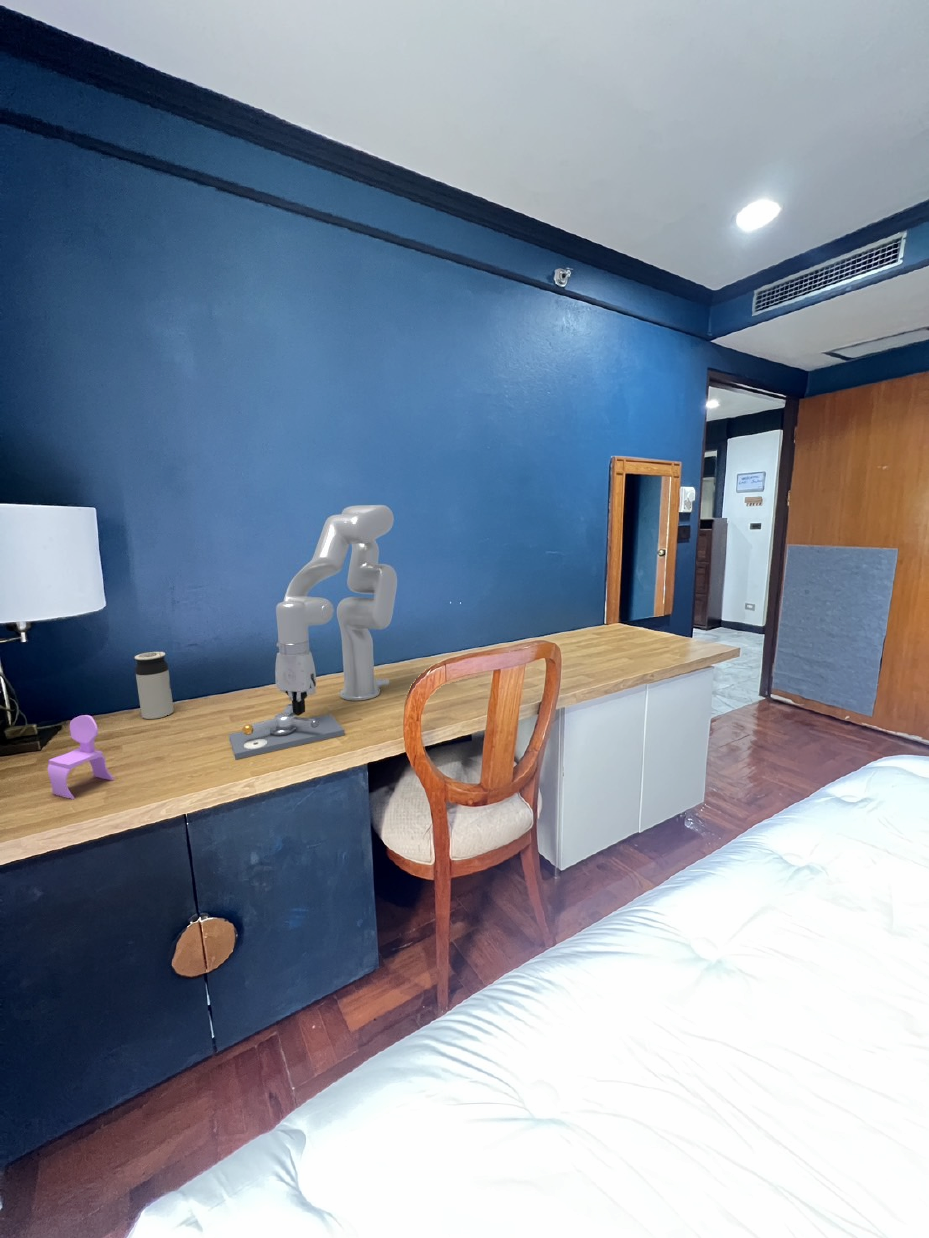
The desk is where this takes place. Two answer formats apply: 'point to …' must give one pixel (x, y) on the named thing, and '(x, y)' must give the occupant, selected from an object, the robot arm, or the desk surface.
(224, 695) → the desk surface
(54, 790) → the toy chair
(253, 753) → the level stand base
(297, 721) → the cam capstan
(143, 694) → the travel mug
